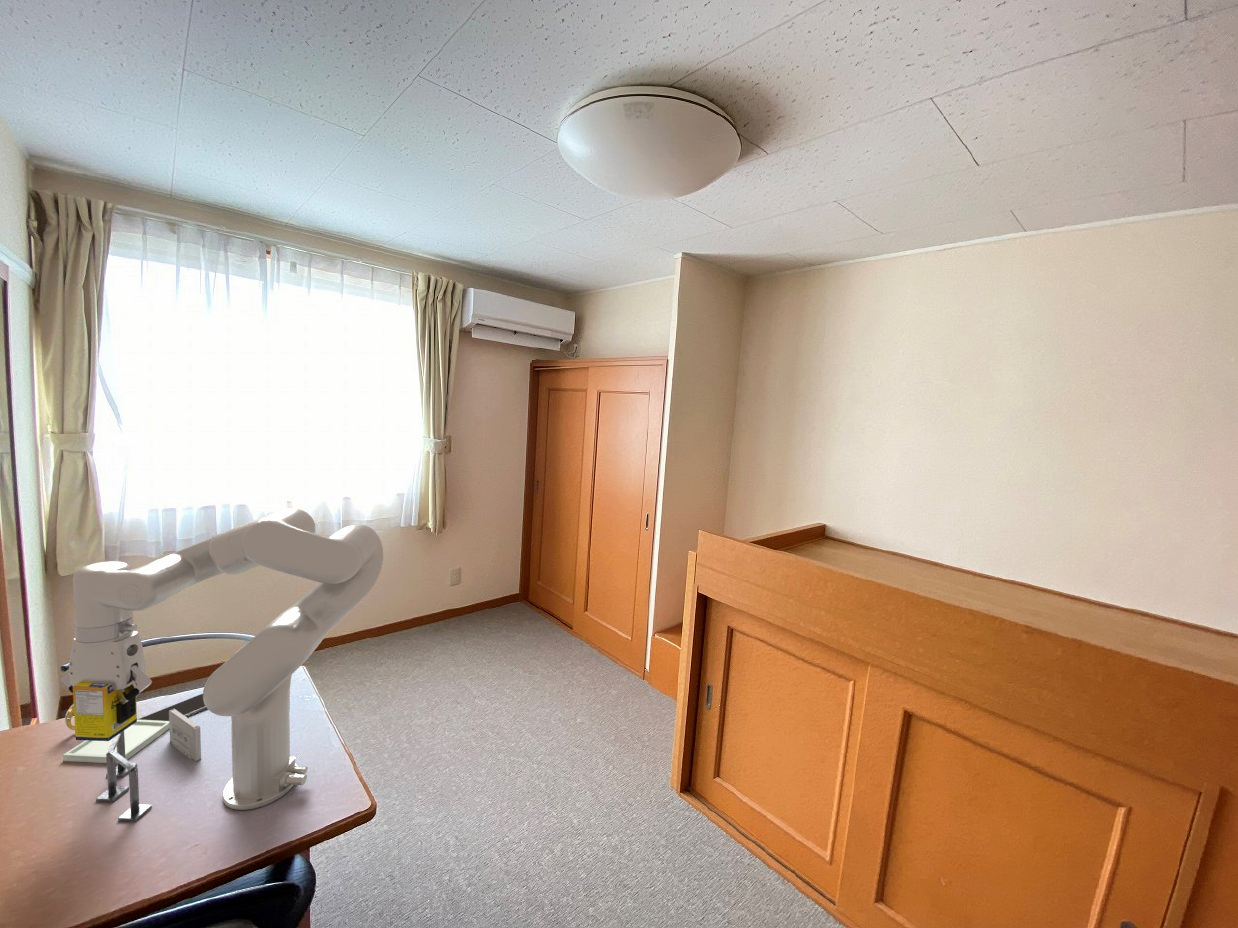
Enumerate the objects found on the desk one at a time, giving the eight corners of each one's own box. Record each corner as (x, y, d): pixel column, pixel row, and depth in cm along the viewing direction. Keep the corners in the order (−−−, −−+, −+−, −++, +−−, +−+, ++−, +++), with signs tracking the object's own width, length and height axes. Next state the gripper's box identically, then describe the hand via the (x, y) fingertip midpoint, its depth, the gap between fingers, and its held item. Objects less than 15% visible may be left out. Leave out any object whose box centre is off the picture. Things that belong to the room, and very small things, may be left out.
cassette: (204, 757, 107) (203, 725, 106) (193, 762, 106) (192, 730, 105) (177, 737, 113) (176, 706, 112) (166, 742, 111) (165, 710, 110)
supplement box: (138, 721, 97) (136, 669, 95) (108, 742, 91) (106, 687, 90) (106, 719, 96) (104, 667, 95) (74, 740, 90) (71, 685, 89)
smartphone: (121, 725, 114) (205, 691, 128) (121, 729, 115) (205, 695, 128) (132, 737, 111) (218, 701, 125) (133, 741, 111) (218, 705, 125)
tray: (171, 726, 116) (171, 721, 116) (121, 763, 104) (121, 757, 104) (119, 723, 115) (119, 718, 115) (63, 760, 103) (62, 754, 103)
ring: (68, 739, 109) (65, 706, 108) (64, 733, 111) (62, 700, 110) (111, 723, 115) (110, 691, 114) (107, 718, 117) (106, 686, 116)
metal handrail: (154, 813, 93) (152, 767, 92) (104, 835, 88) (101, 787, 86) (135, 760, 105) (133, 718, 104) (90, 777, 100) (87, 733, 99)
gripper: (170, 622, 96) (172, 708, 98) (78, 616, 95) (81, 703, 97) (134, 641, 88) (136, 733, 90) (33, 634, 87) (38, 728, 89)
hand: (108, 717), depth 94 cm, fingers closed on supplement box, 6 cm apart
